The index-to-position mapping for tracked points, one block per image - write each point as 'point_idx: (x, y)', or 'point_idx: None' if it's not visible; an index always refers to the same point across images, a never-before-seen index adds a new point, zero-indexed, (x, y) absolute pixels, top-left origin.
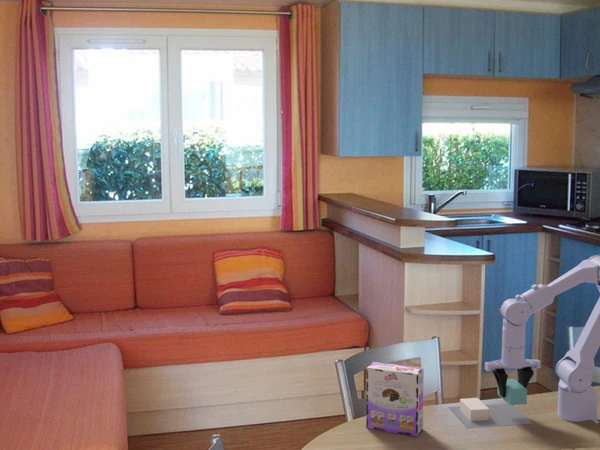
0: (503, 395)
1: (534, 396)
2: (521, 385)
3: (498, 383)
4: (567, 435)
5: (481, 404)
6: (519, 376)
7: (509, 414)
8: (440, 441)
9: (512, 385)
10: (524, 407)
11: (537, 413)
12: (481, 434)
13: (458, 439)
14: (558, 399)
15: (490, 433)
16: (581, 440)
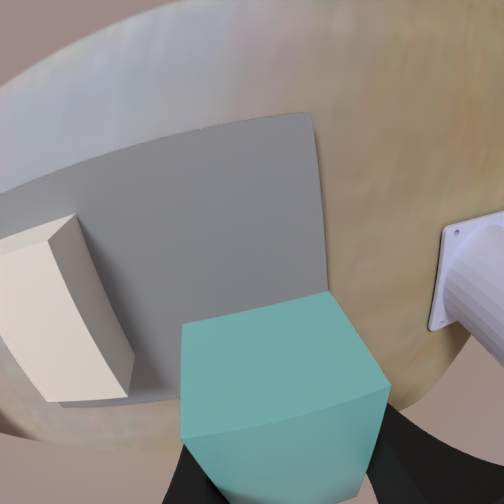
0: None
1: (445, 5)
2: (359, 475)
3: (180, 490)
4: (394, 381)
5: (81, 349)
6: (401, 490)
7: (252, 287)
8: (22, 429)
9: (292, 493)
10: (375, 124)
11: (404, 208)
12: (114, 412)
13: (57, 428)
14: (494, 318)
15: (144, 408)
16: (407, 396)
